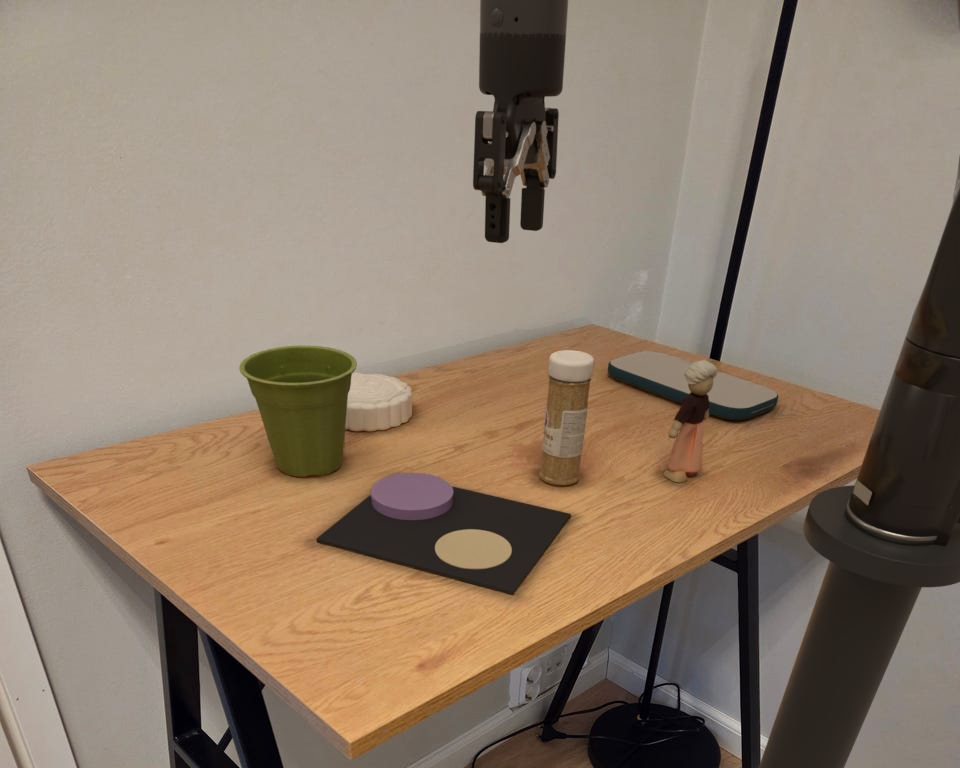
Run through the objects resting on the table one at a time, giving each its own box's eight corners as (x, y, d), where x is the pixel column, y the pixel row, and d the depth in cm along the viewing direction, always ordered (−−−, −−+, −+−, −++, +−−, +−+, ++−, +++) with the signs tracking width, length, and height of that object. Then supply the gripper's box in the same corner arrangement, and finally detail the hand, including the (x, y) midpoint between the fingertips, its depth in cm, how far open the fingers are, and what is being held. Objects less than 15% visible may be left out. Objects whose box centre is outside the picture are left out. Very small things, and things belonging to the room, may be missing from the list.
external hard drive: (597, 376, 118) (599, 362, 117) (648, 361, 124) (650, 347, 123) (735, 427, 104) (739, 412, 103) (784, 408, 110) (788, 393, 109)
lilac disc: (466, 493, 85) (466, 482, 85) (431, 528, 79) (431, 517, 79) (395, 476, 88) (395, 466, 87) (355, 509, 82) (355, 498, 81)
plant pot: (272, 439, 95) (260, 341, 89) (372, 447, 95) (367, 349, 88) (238, 484, 86) (221, 378, 79) (348, 493, 85) (341, 387, 79)
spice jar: (533, 471, 91) (543, 349, 83) (571, 468, 92) (585, 347, 84) (546, 489, 88) (558, 364, 80) (586, 485, 89) (601, 361, 81)
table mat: (570, 517, 83) (571, 512, 83) (512, 595, 71) (513, 590, 71) (396, 476, 89) (396, 472, 89) (316, 542, 77) (316, 537, 77)
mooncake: (362, 441, 96) (360, 411, 94) (296, 413, 102) (294, 384, 100) (432, 414, 104) (432, 386, 101) (367, 390, 110) (366, 363, 108)
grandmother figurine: (688, 489, 89) (712, 374, 81) (654, 481, 90) (675, 366, 83) (708, 465, 94) (733, 354, 87) (676, 457, 96) (698, 347, 88)
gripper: (531, 26, 64) (521, 251, 74) (590, 33, 75) (575, 229, 84) (446, 25, 67) (447, 243, 76) (515, 33, 77) (509, 223, 87)
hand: (514, 235), depth 80 cm, fingers open, 8 cm apart
